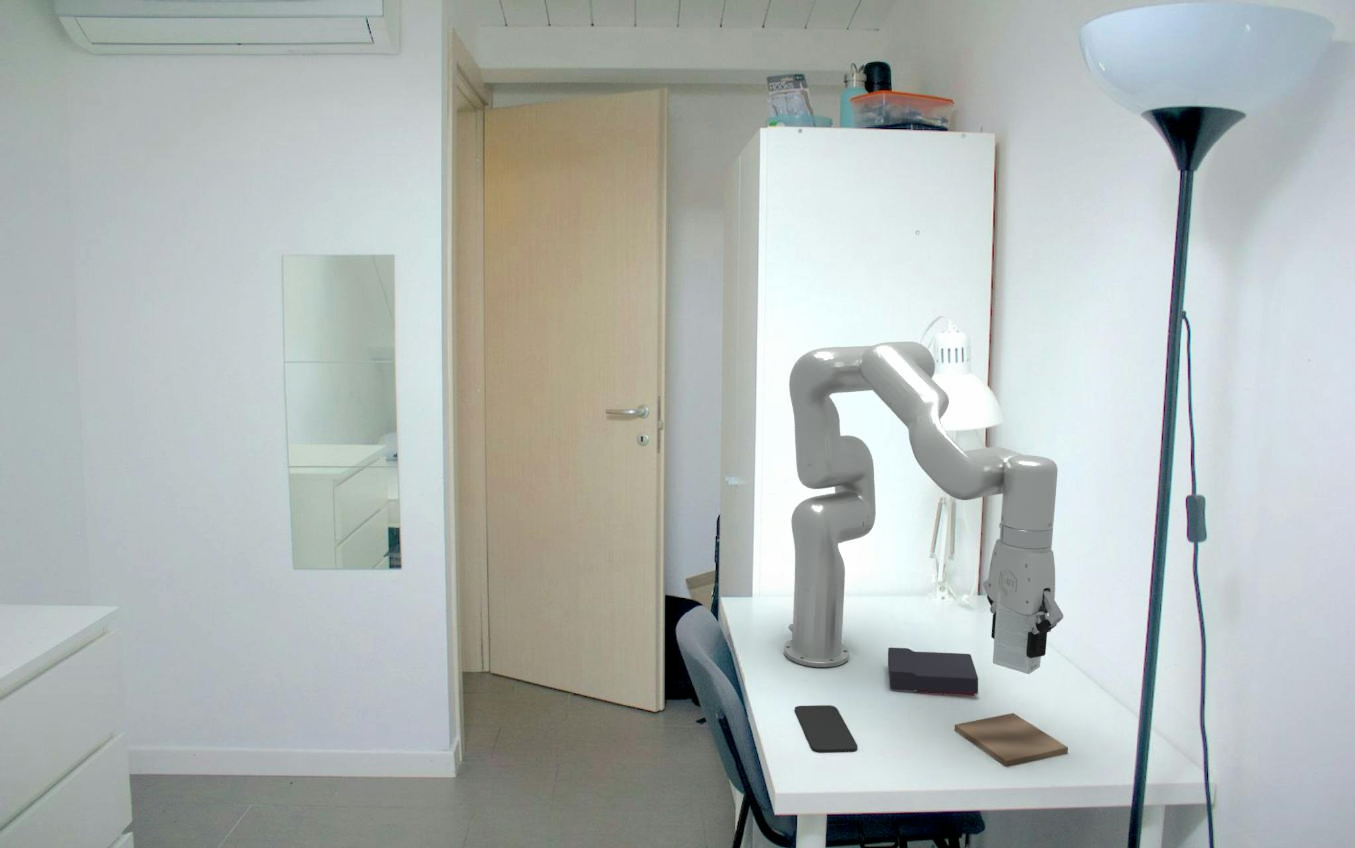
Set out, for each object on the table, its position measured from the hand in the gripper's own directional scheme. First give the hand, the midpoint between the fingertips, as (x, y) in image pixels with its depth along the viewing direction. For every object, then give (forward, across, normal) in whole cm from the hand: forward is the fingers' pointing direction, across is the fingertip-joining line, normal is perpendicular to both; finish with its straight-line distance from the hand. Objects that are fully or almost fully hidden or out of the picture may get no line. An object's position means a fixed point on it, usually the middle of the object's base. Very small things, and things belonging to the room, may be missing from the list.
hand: (1017, 646), depth 141 cm
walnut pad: (+16, 0, 0) cm, 16 cm away
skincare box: (+3, 0, 0) cm, 3 cm away
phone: (+17, -14, -26) cm, 34 cm away
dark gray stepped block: (+12, -22, +2) cm, 25 cm away
